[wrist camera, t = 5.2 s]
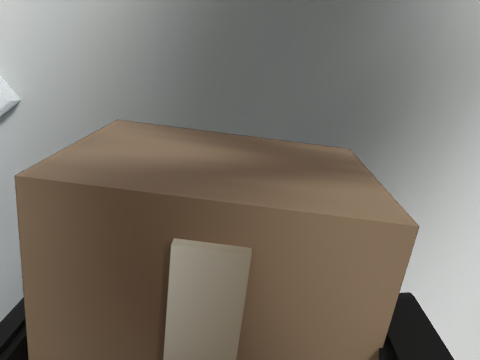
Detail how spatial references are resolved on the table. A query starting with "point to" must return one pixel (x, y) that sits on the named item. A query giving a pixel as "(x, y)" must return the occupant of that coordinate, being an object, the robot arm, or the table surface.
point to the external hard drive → (7, 97)
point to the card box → (207, 249)
